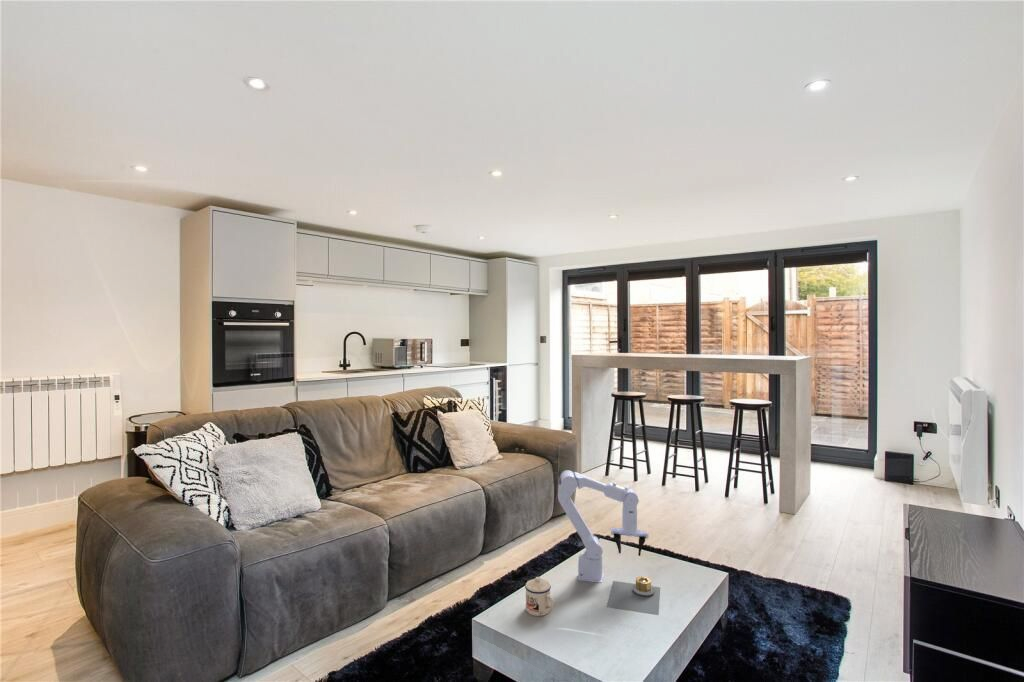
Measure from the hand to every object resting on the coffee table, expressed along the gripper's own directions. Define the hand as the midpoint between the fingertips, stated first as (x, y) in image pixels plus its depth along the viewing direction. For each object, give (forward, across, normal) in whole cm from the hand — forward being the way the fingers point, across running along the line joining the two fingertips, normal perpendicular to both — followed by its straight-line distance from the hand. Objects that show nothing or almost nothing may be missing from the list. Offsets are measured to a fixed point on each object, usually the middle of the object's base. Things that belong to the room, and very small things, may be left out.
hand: (629, 553), depth 210 cm
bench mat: (+10, +3, -15) cm, 18 cm away
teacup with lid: (+10, -28, -34) cm, 45 cm away
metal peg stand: (+10, +6, -10) cm, 15 cm away
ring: (+8, +6, -10) cm, 14 cm away
